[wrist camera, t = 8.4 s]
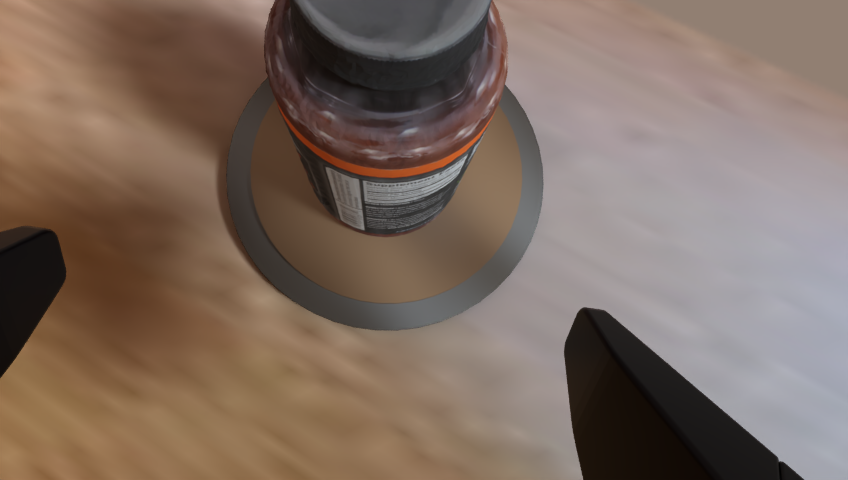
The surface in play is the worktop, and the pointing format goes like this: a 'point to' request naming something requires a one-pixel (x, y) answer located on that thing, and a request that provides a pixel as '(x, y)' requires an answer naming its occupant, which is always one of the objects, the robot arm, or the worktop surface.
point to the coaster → (384, 256)
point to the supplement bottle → (386, 100)
